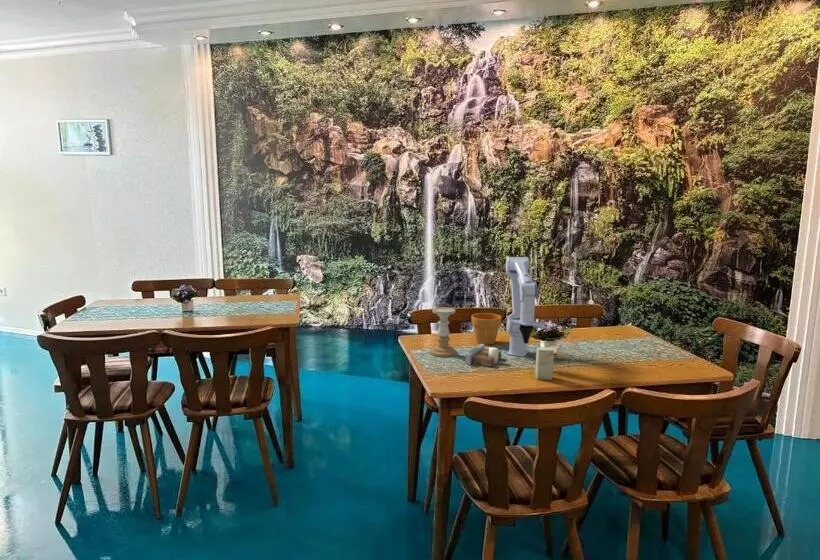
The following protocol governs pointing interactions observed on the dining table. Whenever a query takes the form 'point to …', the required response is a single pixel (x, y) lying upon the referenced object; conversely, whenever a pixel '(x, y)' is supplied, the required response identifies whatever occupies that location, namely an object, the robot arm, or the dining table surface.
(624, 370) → the dining table surface
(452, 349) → the candle holder
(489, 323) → the flower pot
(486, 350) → the block
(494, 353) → the dowel
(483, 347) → the wall
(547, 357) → the skincare box
